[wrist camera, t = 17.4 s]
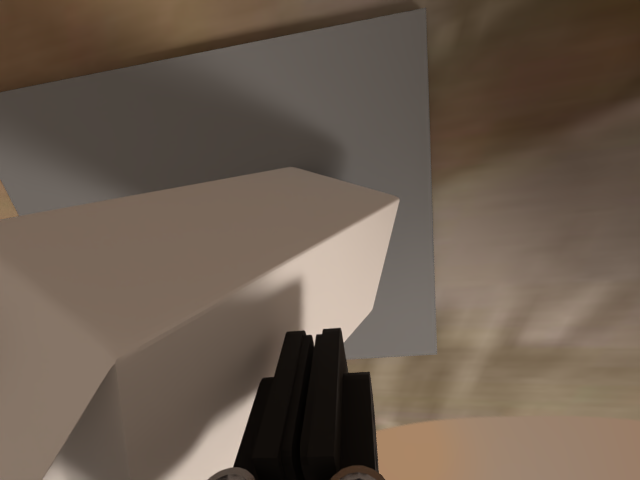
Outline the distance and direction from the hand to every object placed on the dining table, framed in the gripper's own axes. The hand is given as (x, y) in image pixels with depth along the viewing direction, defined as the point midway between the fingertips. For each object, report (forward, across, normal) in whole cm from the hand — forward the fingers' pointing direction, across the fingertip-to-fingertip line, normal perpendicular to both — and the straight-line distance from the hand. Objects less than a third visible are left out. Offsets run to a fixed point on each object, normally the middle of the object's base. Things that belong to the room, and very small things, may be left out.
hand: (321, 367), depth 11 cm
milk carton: (+11, 0, 0) cm, 11 cm away
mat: (+13, +8, 0) cm, 16 cm away
